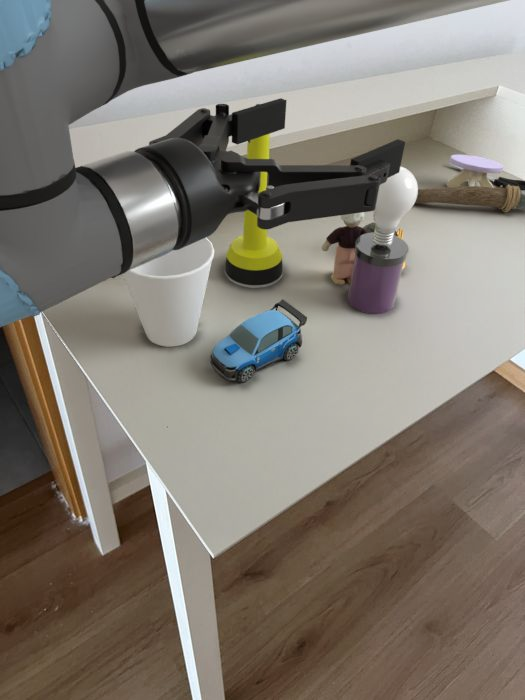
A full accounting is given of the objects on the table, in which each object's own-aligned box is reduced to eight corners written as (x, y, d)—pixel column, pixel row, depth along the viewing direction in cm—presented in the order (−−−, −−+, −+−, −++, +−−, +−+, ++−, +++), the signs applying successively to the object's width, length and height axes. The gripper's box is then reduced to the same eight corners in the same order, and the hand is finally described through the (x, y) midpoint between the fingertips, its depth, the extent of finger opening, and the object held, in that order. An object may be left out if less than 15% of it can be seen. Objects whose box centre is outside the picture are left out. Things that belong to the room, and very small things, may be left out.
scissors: (456, 157, 126) (547, 188, 116) (455, 161, 127) (545, 192, 117) (441, 165, 122) (533, 197, 112) (440, 169, 123) (531, 201, 113)
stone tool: (420, 195, 105) (588, 206, 104) (420, 173, 106) (585, 184, 106) (412, 211, 110) (571, 222, 110) (412, 190, 111) (569, 201, 111)
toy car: (204, 365, 74) (203, 329, 70) (277, 330, 79) (280, 295, 76) (232, 391, 70) (232, 355, 66) (306, 352, 76) (310, 318, 72)
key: (409, 233, 95) (410, 232, 94) (402, 275, 92) (404, 274, 91) (389, 224, 94) (390, 223, 93) (382, 267, 91) (383, 266, 90)
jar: (403, 297, 87) (416, 243, 81) (382, 321, 82) (395, 265, 76) (360, 280, 90) (369, 227, 84) (337, 302, 85) (346, 247, 79)
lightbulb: (367, 229, 83) (381, 153, 76) (411, 241, 81) (429, 164, 74) (351, 249, 79) (364, 170, 72) (396, 262, 77) (414, 183, 69)
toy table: (438, 190, 114) (445, 160, 111) (450, 177, 120) (458, 149, 117) (488, 203, 111) (498, 173, 107) (498, 188, 117) (507, 160, 113)
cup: (137, 368, 73) (126, 285, 64) (118, 313, 81) (106, 234, 73) (227, 348, 76) (227, 267, 68) (200, 297, 84) (198, 220, 76)
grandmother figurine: (360, 270, 92) (373, 194, 84) (370, 283, 89) (385, 207, 81) (314, 275, 90) (323, 199, 82) (323, 289, 87) (333, 212, 79)
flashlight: (254, 121, 69) (309, 107, 74) (210, 101, 74) (263, 89, 79) (249, 294, 85) (294, 274, 90) (213, 268, 91) (257, 250, 95)
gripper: (66, 193, 51) (241, 135, 63) (274, 323, 38) (445, 219, 50) (49, 103, 46) (243, 59, 58) (282, 218, 33) (469, 131, 45)
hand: (337, 133), depth 54 cm, fingers open, 13 cm apart
